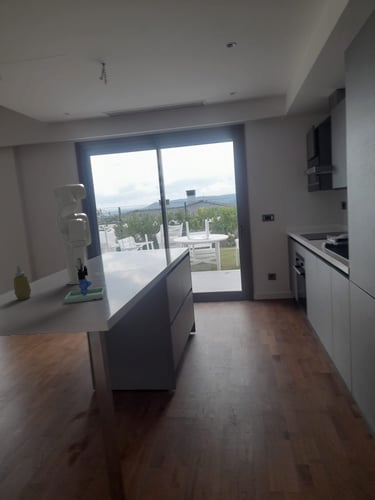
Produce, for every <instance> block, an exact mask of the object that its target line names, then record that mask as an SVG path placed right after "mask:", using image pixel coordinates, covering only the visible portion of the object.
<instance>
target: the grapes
mask: <svg viewBox="0 0 375 500" xmlns="http://www.w3.org/2000/svg"><path fill="white" fill-rule="evenodd" d="M87 279H88V278H87ZM87 279H86V276H85V279H83V280H78V281H79V282H80V283H79V284H78V287H79V288H80V290H81V291H80V292H81V294H83V295H84V296H85V295H86V294H87V293H88V292H87V291H88V289H89V287H91V285H92V282H91V281H90V280H88V281H87Z"/></svg>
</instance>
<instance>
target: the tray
mask: <svg viewBox="0 0 375 500" xmlns="http://www.w3.org/2000/svg"><path fill="white" fill-rule="evenodd" d="M87 289H88V291H87V292H88V293H87V294H86V295H85V296H84V295H83V294H81V292H80V291H81V289H78V290H72V291H69V292H68V294H66V296H65V298H64V303H65V304H71V303H73V304H74V303H81V302H86V301H94V300H93V299H96V300H100V298H103V299H104V297H105V294H106V287H104V286H102V287H95V288H87ZM103 296H104V297H103Z"/></svg>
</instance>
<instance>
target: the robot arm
mask: <svg viewBox="0 0 375 500" xmlns="http://www.w3.org/2000/svg"><path fill="white" fill-rule="evenodd" d="M52 196H53V199H54V201H55V204H56V205H57V207H58V210H57V211H56V213H55V219H54V220H55V224H56V230H57V232H58V234H60V235H61V242H62V246H63V250H64V255H65V262H66V268H67V269H66V270H67V275H68V280H67V281H66V285H79V283H80V282H79V281H78V280H83V279H85V278H86V277H85V276H88V275H89V273H88V267H87V263H88V259H87V254H86V253H87V252H86V247H87V246H89V245H91V244H92V235H91V228H90V222H89V221H90V220H89V217H88V215H87V214H86V213H76V212H77V210H78V209H79V203H78V200H84V199H86V198H87V190H86V187H85V185H84V184H82V183H75V184H63V185H58V186H55V187H53V188H52ZM86 279H87V281H89V279H88V278H86Z"/></svg>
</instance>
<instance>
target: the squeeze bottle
mask: <svg viewBox="0 0 375 500" xmlns="http://www.w3.org/2000/svg"><path fill="white" fill-rule="evenodd" d="M14 276H15V277H14V278H13V289H14V295H15V297H16V298H17V300H19V301H20V300H21V301H22V300H26V299H30V298H31V294H32V293H31V292H32V289H31V286H30V285H31V284H30V282H29V279H28V276H27V275H26V273H25V271H22V267H21V266H20V265H17V266H16V272H15V273H14Z"/></svg>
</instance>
